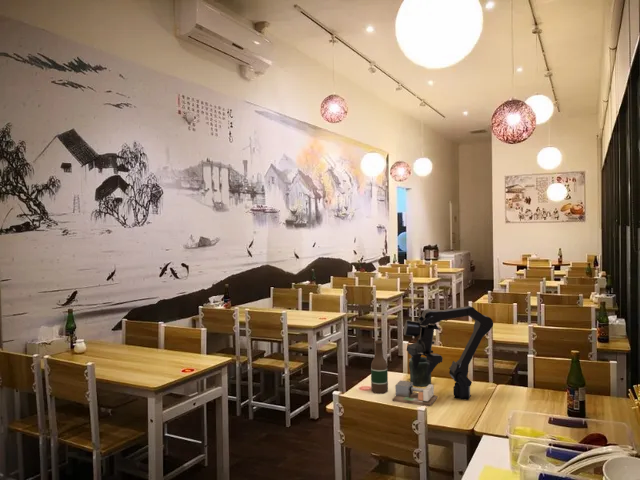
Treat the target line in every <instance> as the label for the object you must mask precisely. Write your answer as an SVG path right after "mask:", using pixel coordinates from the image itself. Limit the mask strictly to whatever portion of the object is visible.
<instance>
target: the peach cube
mask: <svg viewBox="0 0 640 480" xmlns="http://www.w3.org/2000/svg"><path fill="white" fill-rule="evenodd" d="M417 393H418V400H422V401H423V392H417Z"/></svg>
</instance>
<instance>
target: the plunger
mask: <svg viewBox="0 0 640 480" xmlns="http://www.w3.org/2000/svg"><path fill="white" fill-rule="evenodd" d="M434 387H435V386H434V384H432V383H431V384H429V385H428V386H425V387H424V388H423V387H416V386H415V387H414V386H413V387H412V388H411V391H413V392H416V393H419V392H423V401H429V400H430V398H431V397H432V396H433V395H435V393H434Z"/></svg>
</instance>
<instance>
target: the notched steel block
mask: <svg viewBox="0 0 640 480" xmlns="http://www.w3.org/2000/svg"><path fill="white" fill-rule="evenodd" d="M412 387H414V385H413V382H410V381H406V380H399V381H398V382H397V383H396V384H395V396H400V397H408V398H409V397H410V394H413V392H414V391H411V388H412Z"/></svg>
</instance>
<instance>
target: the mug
mask: <svg viewBox="0 0 640 480" xmlns="http://www.w3.org/2000/svg"><path fill="white" fill-rule="evenodd" d="M426 360H427V358H426V356H421V358H420V361H419V364H418V367H417V369H414V366H413V360H412V357H410V358H409V359H408V361H409V362H408V368H409V382H413V387H414V386H415V387H420V388H423V387H424V388H425V387H427V386H428V385H429V384H431V385H432V373H431V374H430V375H429V376H427V365H428V364H427V362H426Z"/></svg>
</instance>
